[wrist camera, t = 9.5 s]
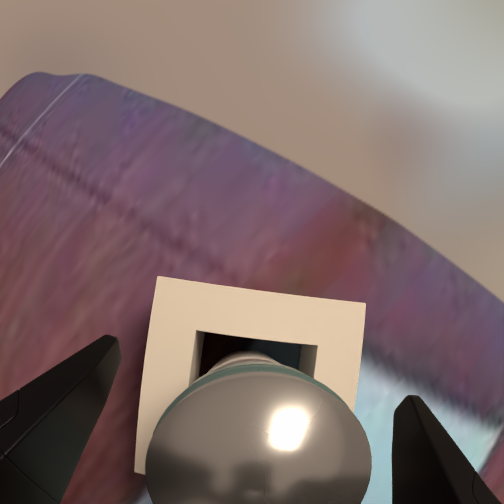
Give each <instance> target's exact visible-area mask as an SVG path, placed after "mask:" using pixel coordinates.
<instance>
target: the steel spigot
mask: <svg viewBox="0 0 504 504" xmlns="http://www.w3.org/2000/svg"><path fill="white" fill-rule="evenodd" d="M371 468H372V464H371V451H370V445H369V442H368V439H367V436H366V433H365V431H364V429H363V427H362V425H361V424H360V422H359V420H358V419H357V418H356V416H355V415H354V414H353V412H352V411H351V410H350V408H349V407H348V406H347V404H346V403H345V402H344V401H343V400H342V399H341V398H340V397H339V396H338V395H337V394H336V393H335V392H334V391H332V390H331V389H330V388H328V387H327V386H326V385H324V384H323V383H321V382H319V381H317V380H315V379H314V378H312V377H310V376H308V375H306V374H304V373H302V372H300V371H298V370H296V369H293V368H291V367H289V366H285V365H282V364H280V363H278V362H277V361H275V360H274V359H272V358H270V357H269V356H267V355H266V354H264V353H261V352H258V351H255V350H238V351H234V352H231V353H229V354H227V355H225V356H224V357H223V358H221V359H220V360H219V361H218V362H217V363H216V364H215V365H214V366H213V367H212V368H211V369H210V370H209V371H208V373H206V374H205V375H203V376H202V377H200V378H199V379H197V380H196V381H195V382H193V383H192V384H191V385H190V386H189V387H188V388H186V389H185V390H184V391H183V392H182V393H181V394H180V395H179V396H178V397H177V398H176V399H175V400H174V401H173V402H172V403H171V404H170V405H169V406H168V407H167V409H166V410H165V411H164V413H163V414H162V416H161V417H160V419H159V421H158V423H157V425H156V427H155V430H154V432H153V436H152V438H151V441H150V443H149V446H148V450H147V454H146V461H145V479H146V483H147V488H148V492H149V494H150V497H151V500H152V502H153V504H361V502H362V500H363V498H364V495H365V493H366V491H367V488H368V484H369V481H370V475H371Z"/></svg>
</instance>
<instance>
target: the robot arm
mask: <svg viewBox="0 0 504 504" xmlns="http://www.w3.org/2000/svg"><path fill="white" fill-rule="evenodd" d="M120 362H121V349H120V342H119V339H118V338H117V337H114V336H111V335H104V336H102V337H101V338H99V339H97V340H96V341H94V342H93V343H91V344H89V345H88V346H86V347H85V348H83V349H82V350H80V351H78V352H77V353H75V354H74V355H72V356H70V357H69V358H67V359H66V360H64V361H62V362H61V363H59V364H58V365H56V366H55V367H53V368H51V369H50V370H48V371H47V372H45V373H44V374H42V375H40V376H39V377H37V378H36V379H34V380H33V381H31V382H29V383H28V384H26V385H25V386H23V387H22V388H20V390H17V391H15V392H14V393H12V394H10V395H9V396H7V397H5V398H4V399H2V400H0V504H60V503H61V500H62V498H63V496H64V493H65V491H66V488H67V486H68V484H69V482H70V479H71V477H72V475H73V472H74V470H75V468H76V466H77V463H78V461H79V459H80V457H81V455H82V452H83V450H84V448H85V446H86V444H87V442H88V439H89V437H90V435H91V433H92V431H93V429H94V427H95V425H96V423H97V420H98V418H99V416H100V414H101V412H102V410H103V408H104V406H105V404H106V401H107V398H108V396H109V393H110V390H111V387H112V384H113V382H114V379H115V376H116V373H117V370H118V368H119V365H120ZM392 504H502V503H501V502H500V501H499V500H498V499H497V498H496V496H495V495H494V494H493V493H492V492H491V490H490V489H489V488H488V487H487V485H486V484H485V483H484V481H483V480H482V479H481V477H480V476H479V475H478V473H477V472H476V471H475V469H474V468H473V466H472V465H471V464H470V462H469V461H468V460H467V458H466V457H465V455H464V454H463V453H462V451H461V450H460V449H459V447H458V446H457V445H456V443H455V442H454V441H453V439H452V438H451V437H450V435H449V434H448V433H447V431H446V430H445V429H444V427H443V426H442V425H441V423H440V422H439V421H438V419H437V418H436V417H435V416H434V414H433V413H432V412H431V410H430V409H429V408H428V406H427V405H426V404H425V403H424V401H423V400H422V399H421V398H420V397H419V396H416V395H408V396H406V397H405V398H404V400H403V401H402V402H401V403H400V404H399V406H398V407H397V408H396V410H395V412H394V419H393V440H392Z"/></svg>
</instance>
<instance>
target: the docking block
mask: <svg viewBox="0 0 504 504" xmlns="http://www.w3.org/2000/svg"><path fill="white" fill-rule="evenodd" d="M365 309H366V303H359V302H350V301H341V300H332V299H323V298H314V297H306V296H297V295H289V294H281V293H273V292H266V291H258V290H250V289H243V288H236V287H229V286H221V285H214V284H208V283H201V282H194V281H187V280H181V279H174V278H168V277H161V276H158V277H157V283H156V288H155V294H154V300H153V306H152V312H151V318H150V325H149V331H148V338H147V345H146V352H145V360H144V368H143V376H142V384H141V394H140V403H139V414H138V425H137V437H136V452H135V470H134V472H136V473H140V474H144V475H145V461H146V454H147V450H148V446H149V443H150V441H151V438H152V436H153V432H154V430H155V427H156V425H157V423H158V421H159V419H160V417H161V416H162V414H163V413H164V411H165V410H166V409H167V407H168V406H169V405H170V404H171V403H172V402H173V401H174V400H175V399H176V398H177V397H178V396H179V395H180V394H181V393H182V392H183V391H184V390H185V389H186V388H188V387H189V386H190V385H191V384H192V383H193V382H195V381H196V380H197V379H199V372H200V365H201V357H202V350H203V343H204V336H205V332H209V333H215V334H222V335H229V336H236V337H243V338H251V339H259V340H267V341H276V342H285V343H295V344H302V346H301V354H300V362H299V370H298V371H300V372H302V373H304V374H306V375H308V376H310V377H312V378H314V379H315V380H317V381H319V382H321V383H323V384H324V385H326V386H327V387H328V388H330V389H331V390H332V391H334V392H335V393H336V394H337V395H338V396H339V397H340V398H341V399H342V400H343V401H344V402H345V403H346V404H347V406H348V407H349V408H350V410H351V411H352V412H353V411H354V405H355V398H356V392H357V385H358V377H359V369H360V361H361V352H362V343H363V333H364V321H365Z"/></svg>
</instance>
